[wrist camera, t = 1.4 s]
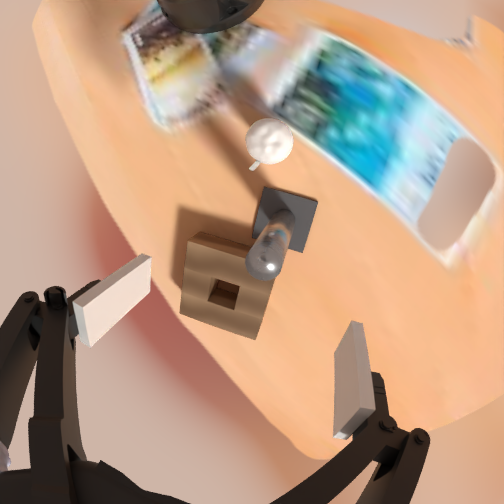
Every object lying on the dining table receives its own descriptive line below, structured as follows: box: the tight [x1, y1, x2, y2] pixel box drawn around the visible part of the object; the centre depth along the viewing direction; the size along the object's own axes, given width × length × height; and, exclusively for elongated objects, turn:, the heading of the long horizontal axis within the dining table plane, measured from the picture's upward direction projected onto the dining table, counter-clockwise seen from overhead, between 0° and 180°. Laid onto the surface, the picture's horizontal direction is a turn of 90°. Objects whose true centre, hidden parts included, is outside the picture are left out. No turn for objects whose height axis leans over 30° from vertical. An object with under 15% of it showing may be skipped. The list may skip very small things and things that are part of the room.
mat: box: [252, 187, 318, 253], centre depth 35 cm, size 7×7×1 cm
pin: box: [245, 209, 296, 281], centre depth 28 cm, size 3×3×14 cm
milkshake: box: [245, 118, 293, 171], centre depth 27 cm, size 4×5×10 cm
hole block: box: [180, 232, 275, 340], centre depth 38 cm, size 12×12×4 cm
